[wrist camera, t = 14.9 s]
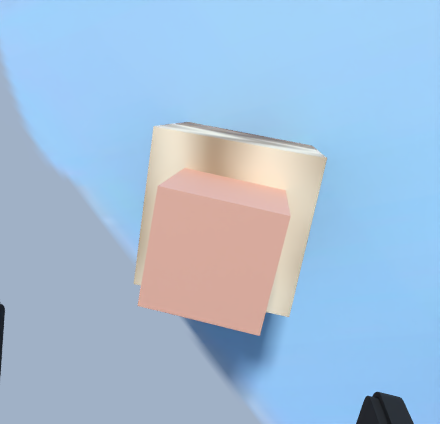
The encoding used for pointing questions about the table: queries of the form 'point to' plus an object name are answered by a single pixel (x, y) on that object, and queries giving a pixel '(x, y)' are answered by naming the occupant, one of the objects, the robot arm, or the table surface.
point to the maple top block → (246, 171)
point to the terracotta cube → (214, 249)
